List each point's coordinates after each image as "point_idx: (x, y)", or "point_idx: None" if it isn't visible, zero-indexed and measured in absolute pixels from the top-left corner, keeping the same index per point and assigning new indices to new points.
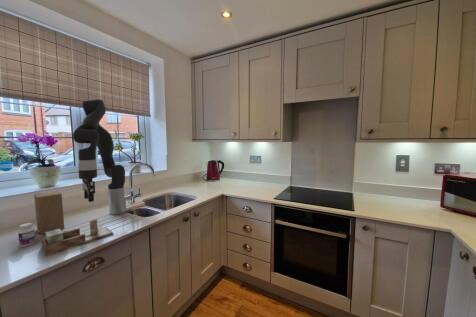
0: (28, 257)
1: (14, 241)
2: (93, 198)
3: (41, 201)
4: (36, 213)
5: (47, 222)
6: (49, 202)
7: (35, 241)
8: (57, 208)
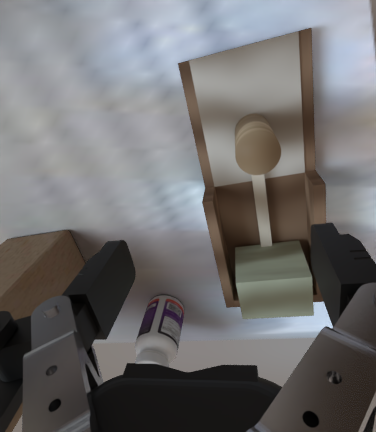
0: None
1: (122, 329)
2: (341, 243)
3: None
4: None
5: None
6: None
7: (165, 296)
8: (17, 313)
